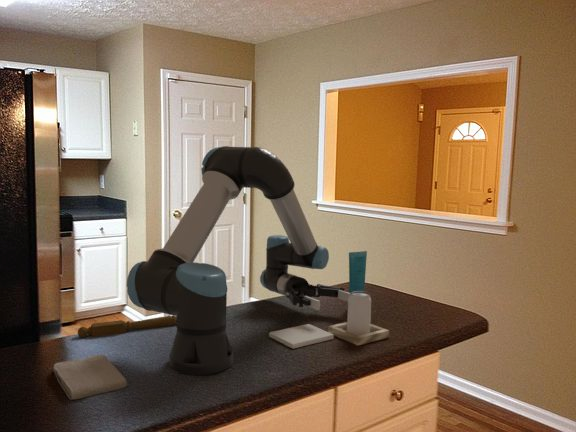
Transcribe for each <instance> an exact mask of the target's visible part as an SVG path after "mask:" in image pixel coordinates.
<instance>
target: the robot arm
mask: <svg viewBox="0 0 576 432" xmlns="http://www.w3.org/2000/svg"><path fill="white" fill-rule="evenodd" d="M201 165H202V167H201V180H202V183H203V184H202V185H201V187H200V188H199V191H198V192H197V193H196V195H195V197H194V199H193V200H192V202H191V203H190V205H189V206H188V207H187V210H186V211H185V213H184V215H182V218H181V219H180V220H179V222H178V224H177V225H176V227H175V228H174V230H173V231H172V233H171V235H170V236H169V238H168V239H167V241H166V243H165V244H164V246H163V248H158V249H155V250H154V251H153V252H152V254H151V256H150V257H149V258H148V260H146V261H145V260H143V261H142V260H141V261H140V262H137V263H136V264H134V265H133V266H132V267H131V268H130V270H129V272H128V275H127V277H126V288H127V290H126V291H127V292H126V293H127V296H128V297H129V300H130V301H131V303H132V304H133V305H134V306H136V307H138V308H139V309H141V308H142V309H144V310H145V311H149V312H152V311H153V312H155V313H156V312H157V313H161V314H165V315H168V316H173V315H174V316H175V317H177V324H176V333H175V337H174V340H173V343H172V346H171V349H170V352H169V356H168V363H169V365H168V366H169V367H170V368H171V370H172V371H175V372H177V373H179V374H184V375H190V376H192V375H193V376H203V375H205V376H206V375H213V374H217V373H221V372H224V371H225V370H227V369H229V368H230V367H232V365H233V364H234V351H233V348H232V347H233V346H232V345H231V342H230V339H229V336H228V332H227V299H228V298H227V297H228V296H227V295H228V285H227V276H226V273H225V271H224V270H223V269H222V268H220V267H218V266H216V265H214V264H210V263H206V262H205V263H204V262H201V263H200V262H195V260H196V258H197V257H198V255H199V253H200V251H201V250H202V248H203V246H204V245H205V243H206V241H207V240H208V238H209V236H210V234H211V232H212V231H213V229H214V228H215V226H216V223H218V220H219V219H220V217H221V215H222V214H223V212H224V210H225V208H226V206H227V205H228V203H229V202H230V200H236V199H237V198H238V197H239V195H240V194H241V191H242V190H243V189H244V188H246V189H249V188H253V189H258V190H260V191H261V192H262V194H263V196H264V197H265V198H266V199H267V200H269V201H270V202H271V205H272V207H273V209H274V211H275V212H276V213H275V214H276V216H277V217H278V218H279V221H280V223H281V225H282V227H283V229H284V231H285V233H286V236H285V235H280V234H275V235H270V236H268V237H267V239H266V249H265V250H266V251H265V252H266V253H265V255H266V258H265V259H266V266H265V268H264V270H262V272H261V274H260V276H259V282H260V284H261V286H262V287H263V288H265V289H267V290H268V291H270V292H272V293H277V294H280V295H282V296H285V297H286V298H287V299H289V300H290V302H291V304H292V305H293V306H297V305H298V308H303V307H304V306H305V307H307V308H311V309H314V310H316V311H320V310H321V300H319V299H316V298H320V297H329V298H337V299H339V300H341V301H345V302H347V303H348V298H349V296H350V293H349V291H345V290H346V289H345V287H342V286H340V287H338V286H332V285H331V286H330V285H324V284H320V283H317V284H316V285H313V284H309V282H308V280H307V279H306V278H303V277H301V276H297V275H296V274H293V273H290V272H289V271H288V270H289V266H294V267H299V268H306V269H311V270H324V269H325V268H326V267H327V265H328V263H329V259H330V258H329V257H330V253H329V250H328V248H327V247H325V246H322V245H318V243H317V241H316V239H315V237H314V235H313V232H312V230H311V228H310V225H309V222H308V220H307V218H306V216H305V213H304V211H303V208H302V206H301V204H300V202H299V199H298V197H297V195H296V193H295V189H294V188H295V180H294V179H293V177H292V174H291V173H290V170H289V169H288V168H287V166H286V165H285V164H284V162H283V161H282V160H281V159H280V158H279V157H277V155H275V154H274V153H273V152H271V151H270V150H268V149H265V148H263V147H259V146H228V145H226V146H223V145H222V146H218V147H213V148H212V149H210V150H209V151H208V152H206V154H205V155H204V157H203V159H202V163H201Z"/></svg>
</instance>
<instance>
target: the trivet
mask: <svg viewBox="0 0 576 432" xmlns="http://www.w3.org/2000/svg"><path fill="white" fill-rule="evenodd" d="M268 337H269V338H271V339H273V340H275V341H276V342H279V343H281V344H283V345H285V346H286V347H288V348H291V349H297V348H301V347H305V346H310V345H313V344H318V343H322V342H326V341H330V340H334V338H335V336H334V335H333V334H331V333H329V332H328V331H326V330H323V329H322V328H319V327H317V326H315V325H312V324H310V323H307V324H306V323H305V324H302V325H298V326H292V327H287V328H284V329H279V330H274V331H270V332H269V333H268Z"/></svg>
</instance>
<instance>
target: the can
mask: <svg viewBox="0 0 576 432" xmlns="http://www.w3.org/2000/svg"><path fill="white" fill-rule="evenodd" d="M371 319H372V298H371V294H370V293H369V292H367V291H364V292H362V291H354V292H351V293H350V296H349V298H348V302H347V321H346V322H347V331H348V332H350V333H353V334H355V335H358V336H359V335H363V334H367V333H370V323H371V322H372V321H371Z"/></svg>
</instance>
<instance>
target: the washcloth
mask: <svg viewBox="0 0 576 432" xmlns="http://www.w3.org/2000/svg"><path fill="white" fill-rule="evenodd" d="M53 372H54V376H55V378H57V379H56V380H57V382H58V384H59V385H60V386H61V388H62V390H63V391H64V392H65V394H66V396H67V397H68V399H69V400H71V401H72V400H78V399H79V400H80V399H84V398H88V397H90V396H95V395H99V394H103V393H104V394H105V393H109V392H112V391H118V390H121V389H124V388H126V387H128V382H127V378H126V377H125V376H123V374H122V372H120V371H119V370H118V369H117V367H116V366H115V365H114V364H113V363H112V362H111V361H110V360H109V359H108V357H107V356H106V355H105V354H102V353H101V354H95V355H92V356H88V357H85V358H75V359H68V360H65V361H60V362H56V363H54V365H53ZM56 375H57V377H56Z"/></svg>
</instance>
